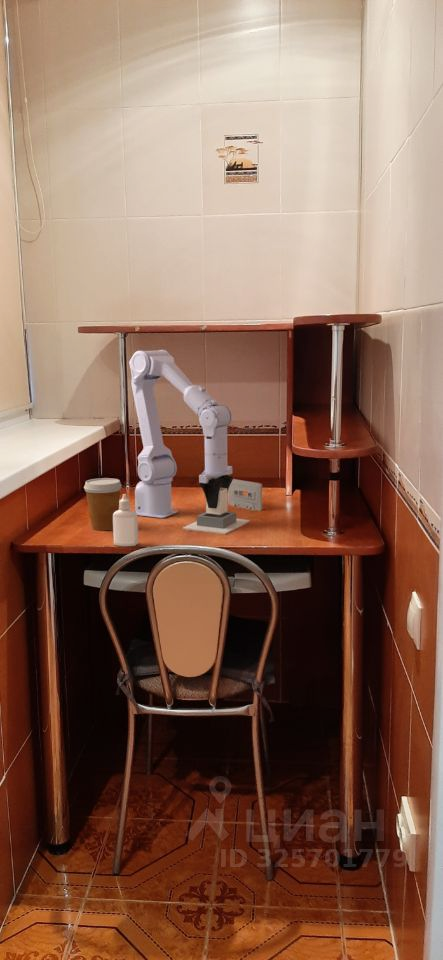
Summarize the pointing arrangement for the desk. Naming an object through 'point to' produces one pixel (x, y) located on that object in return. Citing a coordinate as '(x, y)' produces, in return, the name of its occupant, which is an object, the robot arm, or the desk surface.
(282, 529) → the desk surface
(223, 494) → the block
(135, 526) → the eye dropper bottle
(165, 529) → the desk surface
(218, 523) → the socket dock
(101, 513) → the disposable coffee cup
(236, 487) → the cassette
